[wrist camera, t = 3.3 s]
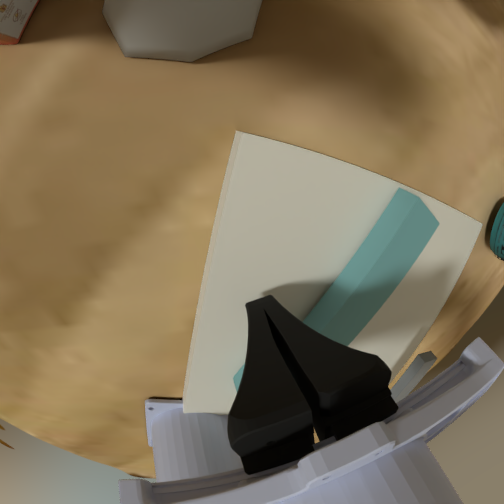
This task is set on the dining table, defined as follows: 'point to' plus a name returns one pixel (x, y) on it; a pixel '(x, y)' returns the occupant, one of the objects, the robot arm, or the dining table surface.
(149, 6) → the flask
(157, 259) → the dining table surface
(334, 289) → the link
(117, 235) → the dining table surface
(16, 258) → the dining table surface
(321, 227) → the board
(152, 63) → the dining table surface
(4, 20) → the cracker box
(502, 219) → the beverage bottle
